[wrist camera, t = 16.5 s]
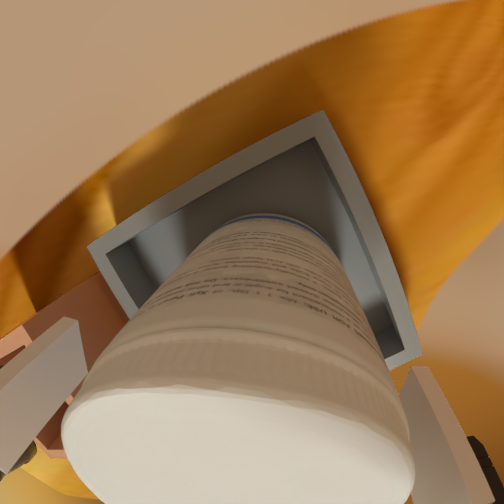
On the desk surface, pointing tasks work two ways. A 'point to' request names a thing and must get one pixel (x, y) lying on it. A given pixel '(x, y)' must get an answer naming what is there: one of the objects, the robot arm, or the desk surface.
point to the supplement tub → (244, 384)
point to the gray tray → (276, 202)
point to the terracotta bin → (92, 336)
